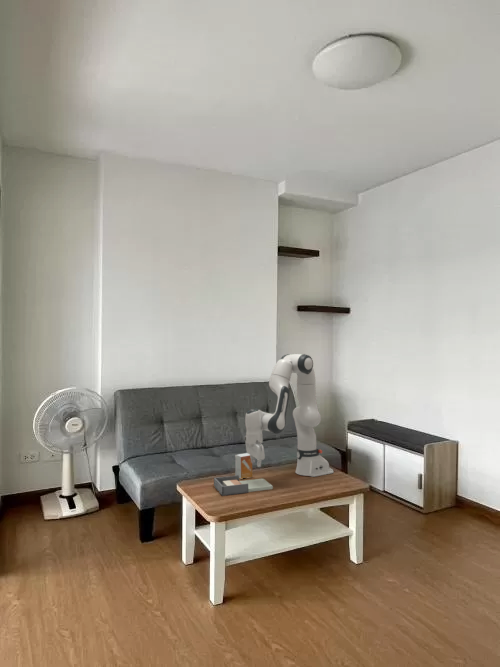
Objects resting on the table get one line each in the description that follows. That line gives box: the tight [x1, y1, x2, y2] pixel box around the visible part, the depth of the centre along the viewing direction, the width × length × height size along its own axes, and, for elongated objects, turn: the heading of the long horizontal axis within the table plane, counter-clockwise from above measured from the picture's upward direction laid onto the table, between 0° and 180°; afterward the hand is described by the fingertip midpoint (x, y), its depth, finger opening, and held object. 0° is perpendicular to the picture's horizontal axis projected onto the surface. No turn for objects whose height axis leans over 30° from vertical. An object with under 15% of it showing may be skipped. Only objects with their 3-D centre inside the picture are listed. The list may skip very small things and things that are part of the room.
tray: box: [213, 474, 249, 497], centre depth 249 cm, size 14×18×5 cm
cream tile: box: [223, 480, 234, 486], centre depth 249 cm, size 4×12×2 cm, turn 19°
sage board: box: [239, 477, 274, 493], centre depth 254 cm, size 14×15×2 cm
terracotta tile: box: [230, 480, 241, 485], centre depth 250 cm, size 4×12×2 cm, turn 19°
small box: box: [234, 452, 253, 479], centre depth 272 cm, size 8×6×13 cm
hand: (256, 464), depth 254 cm, fingers open, 8 cm apart
